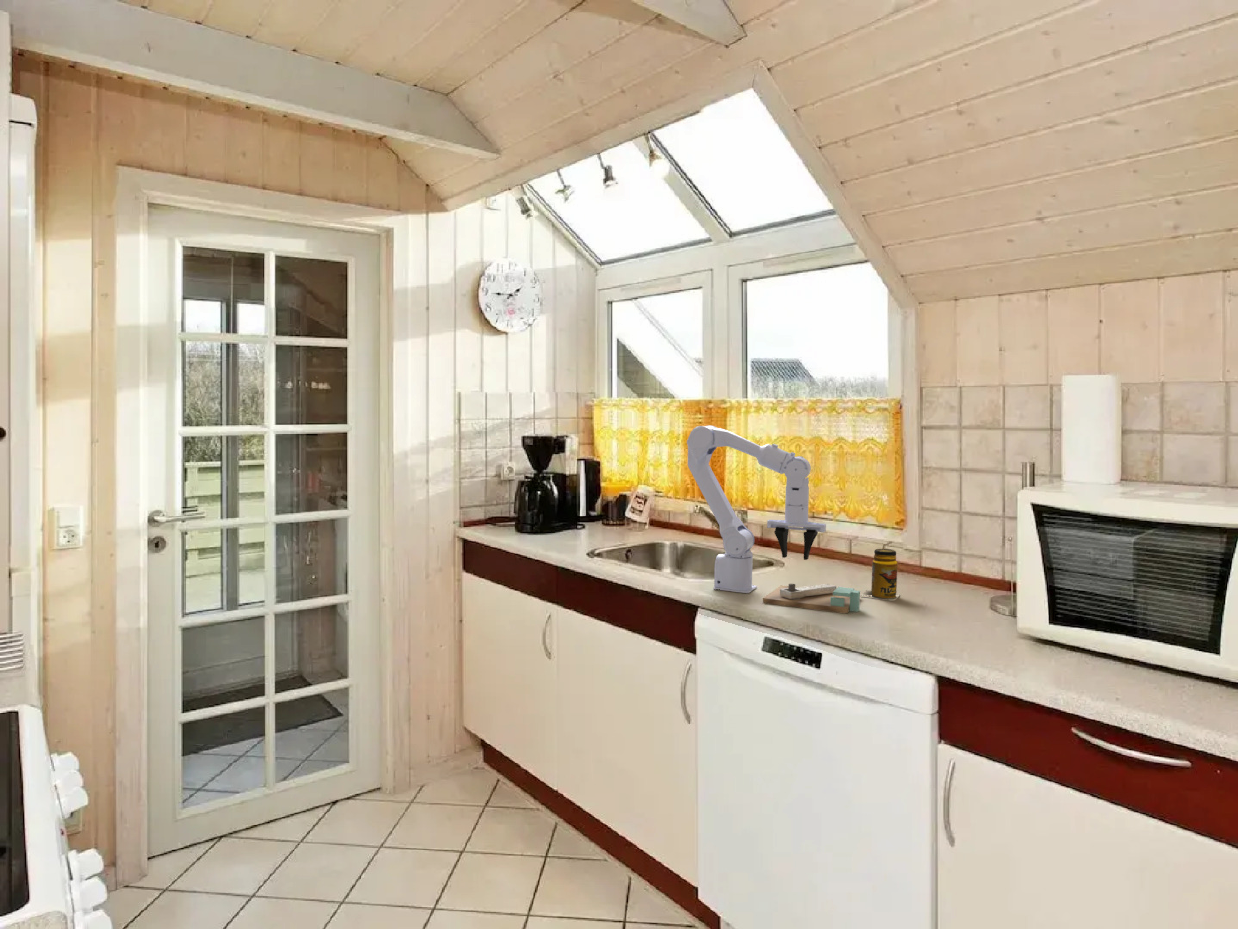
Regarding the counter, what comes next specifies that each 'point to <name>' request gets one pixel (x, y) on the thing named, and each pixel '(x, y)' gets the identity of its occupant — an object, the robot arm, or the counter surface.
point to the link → (807, 591)
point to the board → (807, 600)
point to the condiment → (883, 575)
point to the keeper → (846, 592)
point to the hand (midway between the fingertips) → (795, 558)
